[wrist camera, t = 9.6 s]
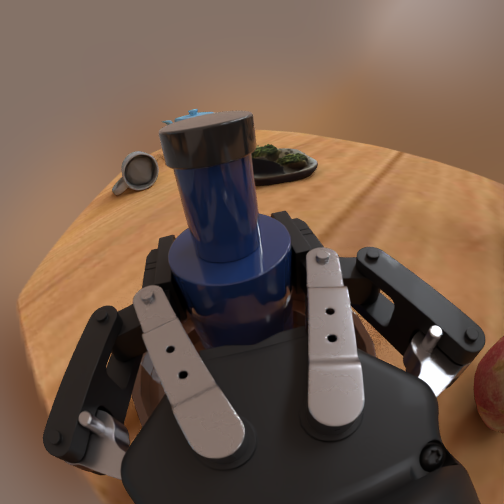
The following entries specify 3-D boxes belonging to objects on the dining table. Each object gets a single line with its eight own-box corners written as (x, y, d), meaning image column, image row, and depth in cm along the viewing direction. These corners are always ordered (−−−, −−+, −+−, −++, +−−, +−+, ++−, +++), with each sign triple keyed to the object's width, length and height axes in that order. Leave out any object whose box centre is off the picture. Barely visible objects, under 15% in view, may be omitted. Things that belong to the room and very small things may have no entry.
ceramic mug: (154, 174, 59) (146, 144, 55) (163, 182, 54) (153, 148, 49) (112, 191, 56) (102, 160, 51) (115, 202, 50) (104, 167, 45)
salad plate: (216, 162, 60) (213, 143, 57) (290, 149, 62) (289, 131, 59) (229, 193, 45) (225, 167, 42) (328, 176, 47) (328, 152, 44)
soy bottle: (238, 333, 19) (190, 112, 10) (303, 352, 17) (300, 104, 9) (205, 387, 16) (101, 149, 7) (276, 414, 14) (236, 133, 5)
